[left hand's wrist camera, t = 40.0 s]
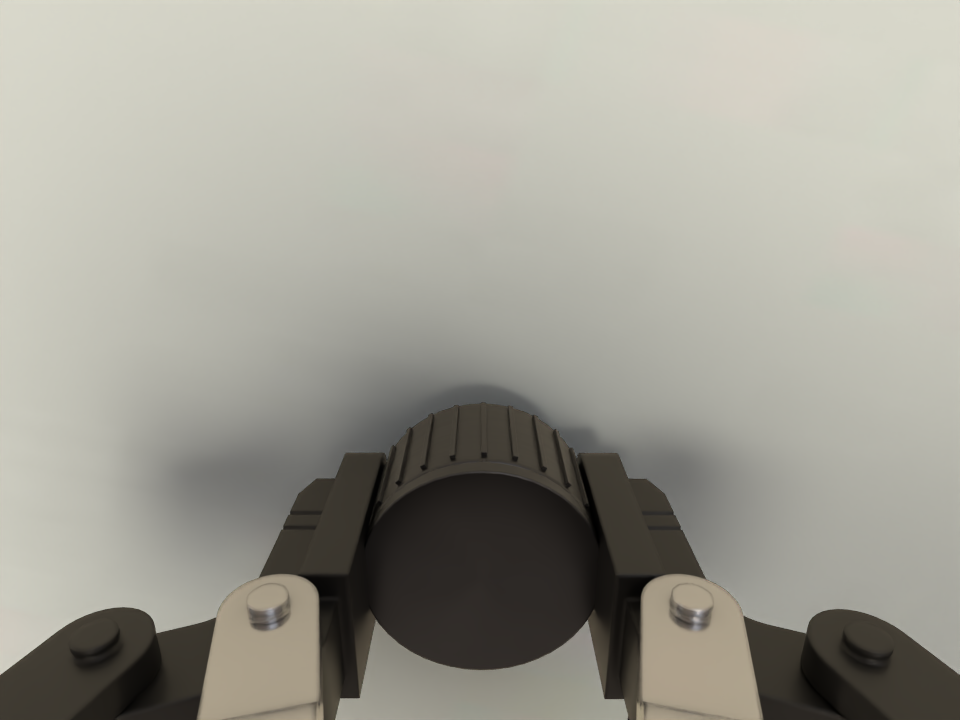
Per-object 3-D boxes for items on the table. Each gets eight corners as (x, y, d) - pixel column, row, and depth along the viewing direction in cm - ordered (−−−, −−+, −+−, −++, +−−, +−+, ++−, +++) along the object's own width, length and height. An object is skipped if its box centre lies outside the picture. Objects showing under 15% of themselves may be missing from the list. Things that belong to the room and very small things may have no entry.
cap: (374, 396, 12) (348, 466, 9) (592, 400, 12) (619, 470, 9) (382, 574, 13) (362, 671, 11) (577, 577, 13) (597, 674, 11)
